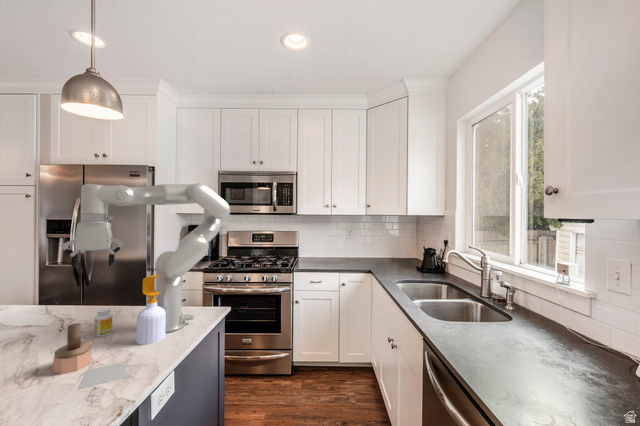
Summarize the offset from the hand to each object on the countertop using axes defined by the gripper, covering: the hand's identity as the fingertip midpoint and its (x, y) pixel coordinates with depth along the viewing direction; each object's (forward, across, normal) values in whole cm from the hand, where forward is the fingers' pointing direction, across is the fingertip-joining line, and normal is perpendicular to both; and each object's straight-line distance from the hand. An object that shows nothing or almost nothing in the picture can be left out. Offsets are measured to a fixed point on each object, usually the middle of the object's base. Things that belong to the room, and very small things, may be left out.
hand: (93, 266), depth 95 cm
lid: (+23, +2, +15) cm, 28 cm away
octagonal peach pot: (+28, +2, +15) cm, 32 cm away
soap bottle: (+28, -18, +6) cm, 34 cm away
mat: (+28, -7, +25) cm, 38 cm away
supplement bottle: (+28, -2, -9) cm, 30 cm away
